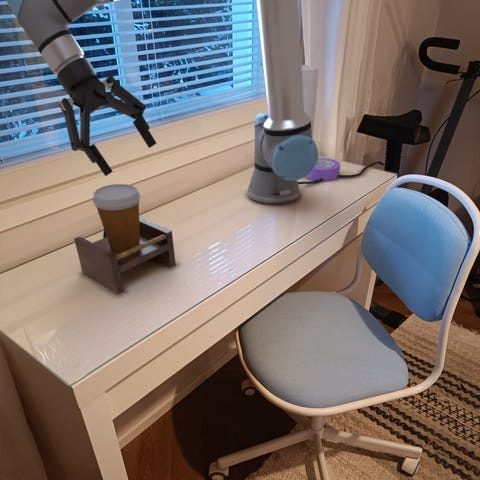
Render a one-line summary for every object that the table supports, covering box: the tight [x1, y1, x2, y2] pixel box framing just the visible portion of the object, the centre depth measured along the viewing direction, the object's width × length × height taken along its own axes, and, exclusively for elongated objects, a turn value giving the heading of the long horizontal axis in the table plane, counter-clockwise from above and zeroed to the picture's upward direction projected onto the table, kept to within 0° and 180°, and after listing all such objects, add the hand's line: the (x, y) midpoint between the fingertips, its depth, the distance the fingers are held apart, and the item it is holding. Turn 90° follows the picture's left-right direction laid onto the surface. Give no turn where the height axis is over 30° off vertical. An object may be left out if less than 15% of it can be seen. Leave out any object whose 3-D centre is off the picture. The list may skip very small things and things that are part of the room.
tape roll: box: [304, 157, 341, 182], centre depth 148 cm, size 12×12×4 cm
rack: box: [73, 216, 177, 295], centre depth 99 cm, size 16×13×8 cm
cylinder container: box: [301, 64, 320, 140], centre depth 152 cm, size 9×9×30 cm
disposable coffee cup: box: [92, 183, 141, 252], centre depth 94 cm, size 10×10×12 cm
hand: (131, 159), depth 101 cm, fingers open, 13 cm apart
